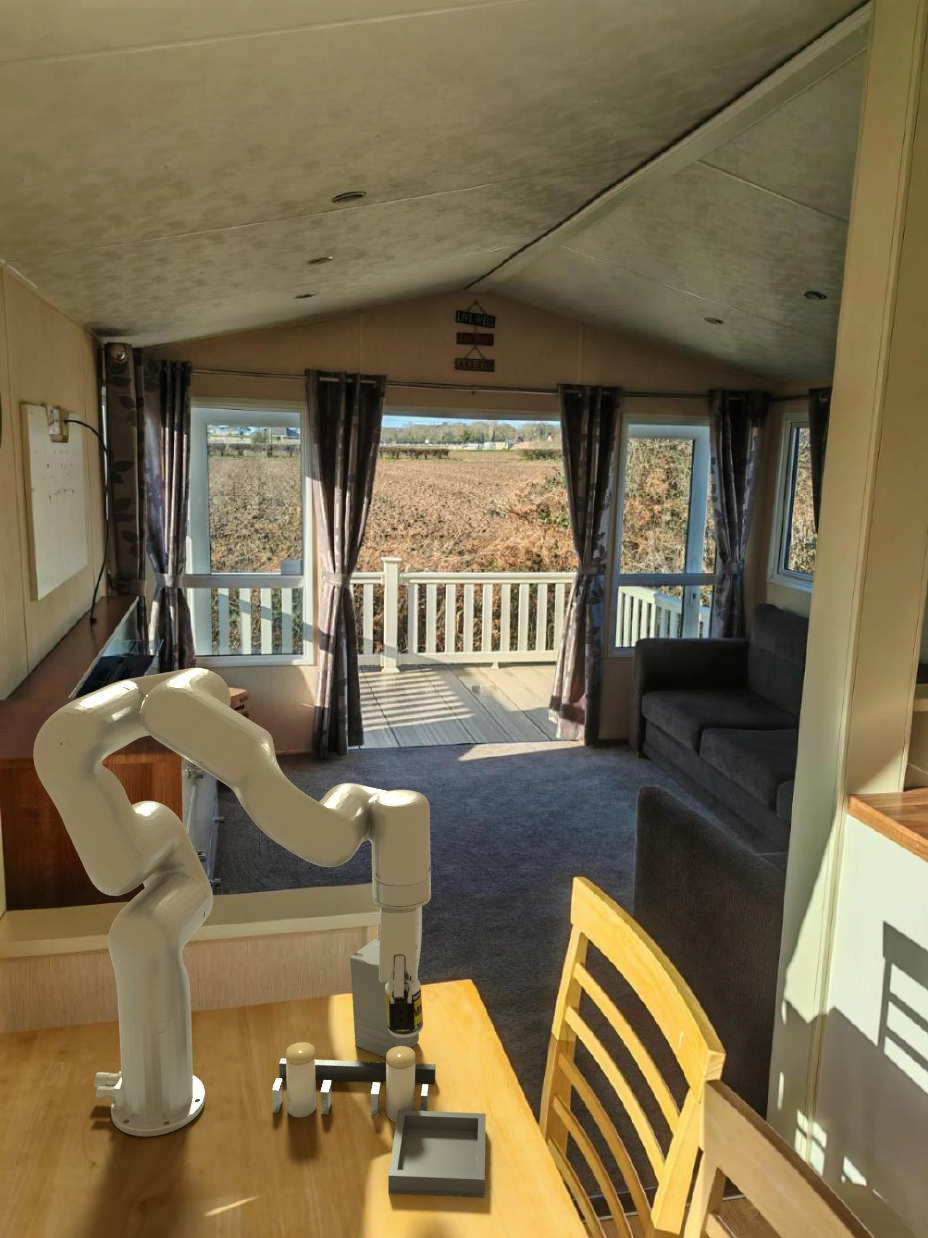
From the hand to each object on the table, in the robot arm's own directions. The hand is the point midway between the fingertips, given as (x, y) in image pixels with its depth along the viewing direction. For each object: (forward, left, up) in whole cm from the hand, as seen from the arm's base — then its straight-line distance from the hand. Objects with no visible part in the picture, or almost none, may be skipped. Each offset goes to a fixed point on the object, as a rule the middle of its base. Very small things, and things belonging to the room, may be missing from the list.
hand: (403, 1015), depth 125 cm
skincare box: (-5, +20, -18) cm, 28 cm away
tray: (+5, -4, -18) cm, 19 cm away
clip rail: (-8, +8, -18) cm, 21 cm away
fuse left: (-15, +5, -18) cm, 24 cm away
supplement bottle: (0, 0, -2) cm, 2 cm away
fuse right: (-1, +5, -18) cm, 19 cm away
